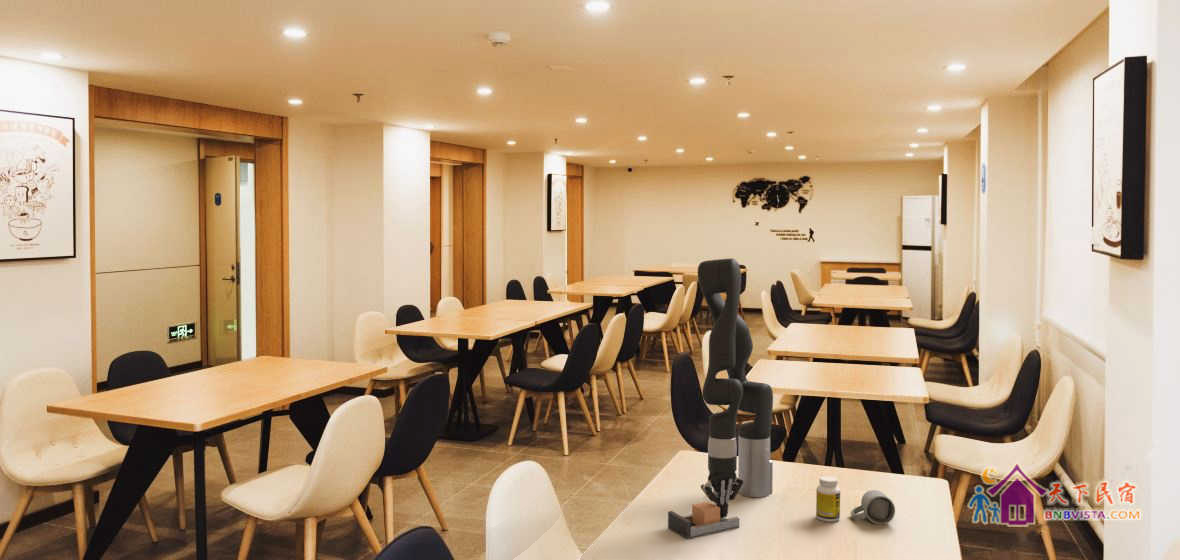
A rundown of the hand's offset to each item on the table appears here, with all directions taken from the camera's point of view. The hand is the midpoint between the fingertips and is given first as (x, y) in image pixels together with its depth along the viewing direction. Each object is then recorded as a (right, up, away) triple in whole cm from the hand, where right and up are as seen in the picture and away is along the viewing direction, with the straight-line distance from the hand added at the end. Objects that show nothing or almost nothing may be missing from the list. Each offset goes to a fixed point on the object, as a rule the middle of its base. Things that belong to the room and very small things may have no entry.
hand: (722, 516), depth 211 cm
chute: (-5, -2, -2) cm, 6 cm away
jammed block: (-5, -2, -2) cm, 6 cm away
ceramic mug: (+41, -2, +3) cm, 41 cm away
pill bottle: (+29, -2, +4) cm, 30 cm away
